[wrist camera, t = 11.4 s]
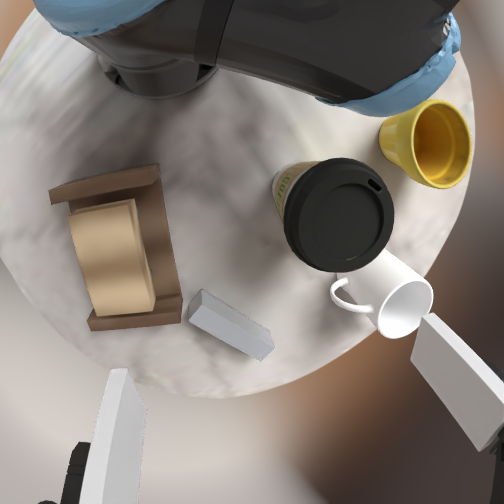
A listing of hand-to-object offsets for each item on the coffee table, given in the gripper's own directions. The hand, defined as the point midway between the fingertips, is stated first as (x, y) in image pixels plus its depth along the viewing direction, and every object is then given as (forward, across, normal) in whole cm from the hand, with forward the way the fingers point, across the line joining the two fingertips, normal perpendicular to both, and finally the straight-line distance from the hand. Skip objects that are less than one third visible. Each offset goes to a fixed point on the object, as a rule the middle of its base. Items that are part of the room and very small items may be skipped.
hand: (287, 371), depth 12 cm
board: (+23, -14, -2) cm, 27 cm away
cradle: (+27, -14, -2) cm, 30 cm away
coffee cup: (+27, +8, +2) cm, 28 cm away
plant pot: (+27, +23, +8) cm, 36 cm away
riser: (+27, -2, -15) cm, 31 cm away
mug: (+27, +16, -10) cm, 33 cm away
